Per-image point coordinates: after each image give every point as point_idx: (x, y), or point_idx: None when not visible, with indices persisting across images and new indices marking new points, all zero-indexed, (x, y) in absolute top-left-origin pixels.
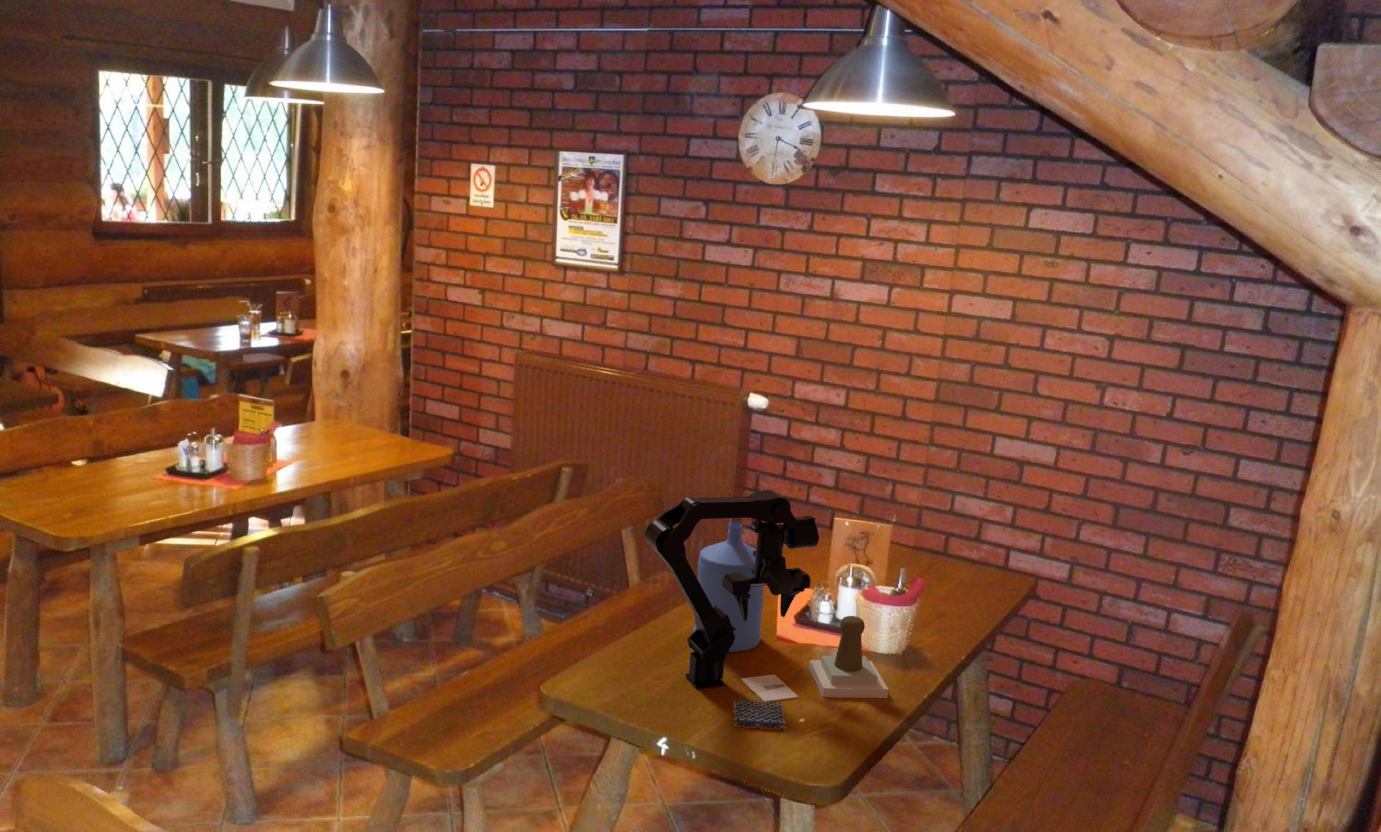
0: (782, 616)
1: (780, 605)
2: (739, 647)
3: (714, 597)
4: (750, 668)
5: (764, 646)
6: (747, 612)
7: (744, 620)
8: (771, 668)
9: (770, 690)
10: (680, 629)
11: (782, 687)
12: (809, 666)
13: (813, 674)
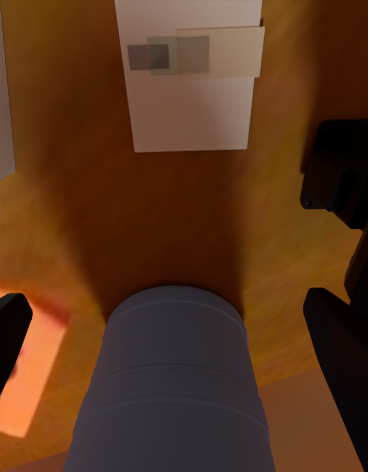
0: (24, 298)
1: (2, 388)
2: (176, 290)
3: (262, 454)
4: (185, 208)
5: (107, 295)
6: (360, 341)
7: (324, 292)
8: (127, 195)
9: (196, 25)
10: None
11: (142, 40)
12: (11, 171)
13: (4, 110)
